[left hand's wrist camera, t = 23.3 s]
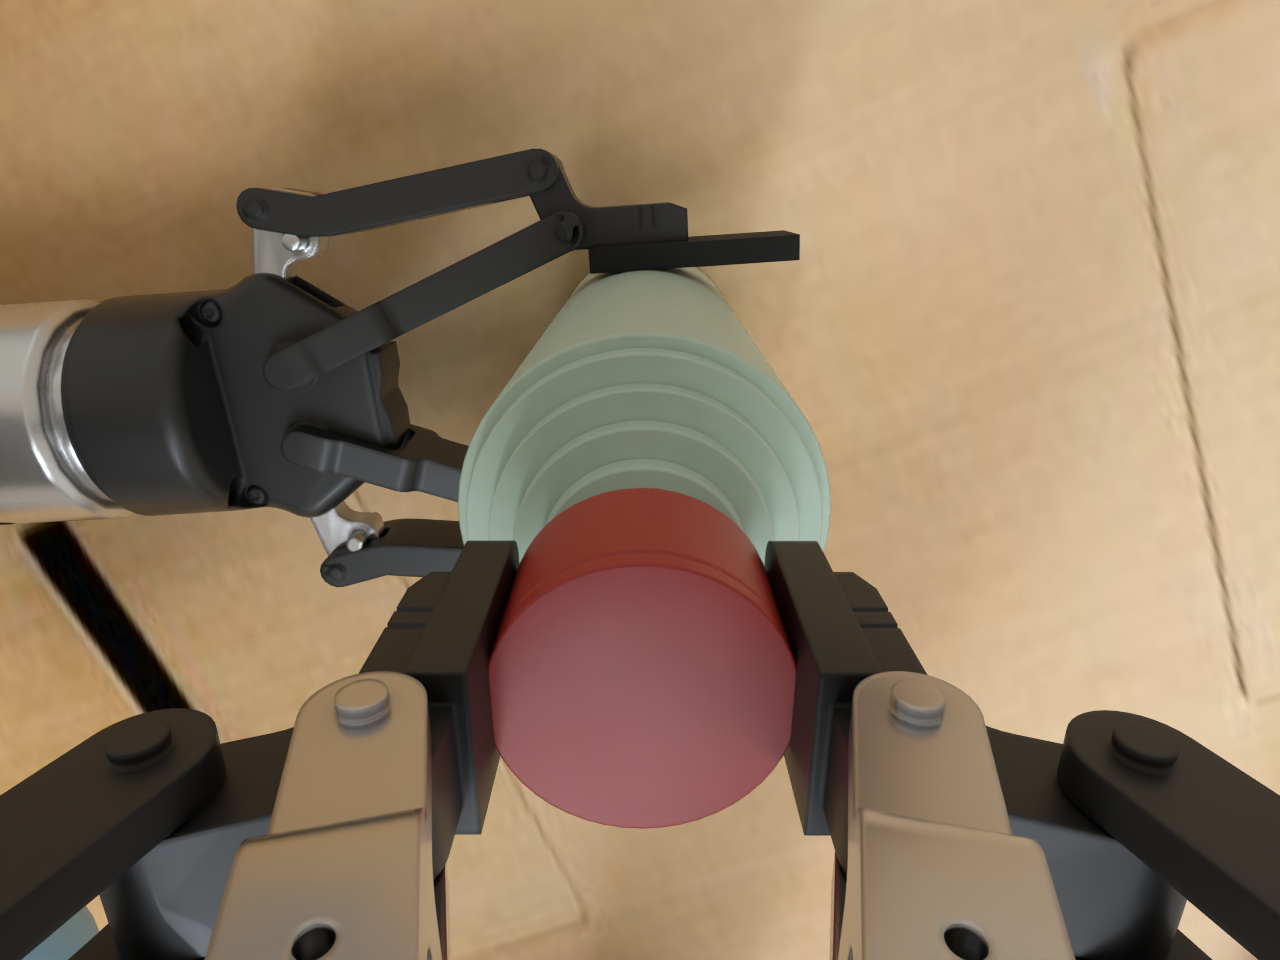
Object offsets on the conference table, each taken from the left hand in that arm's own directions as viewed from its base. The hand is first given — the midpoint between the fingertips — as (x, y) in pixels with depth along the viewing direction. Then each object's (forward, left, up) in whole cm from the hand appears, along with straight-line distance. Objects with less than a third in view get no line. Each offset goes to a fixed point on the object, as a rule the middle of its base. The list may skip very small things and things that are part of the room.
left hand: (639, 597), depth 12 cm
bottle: (0, 0, -22) cm, 22 cm away
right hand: (+4, -3, -16) cm, 17 cm away
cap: (0, 0, +2) cm, 2 cm away
